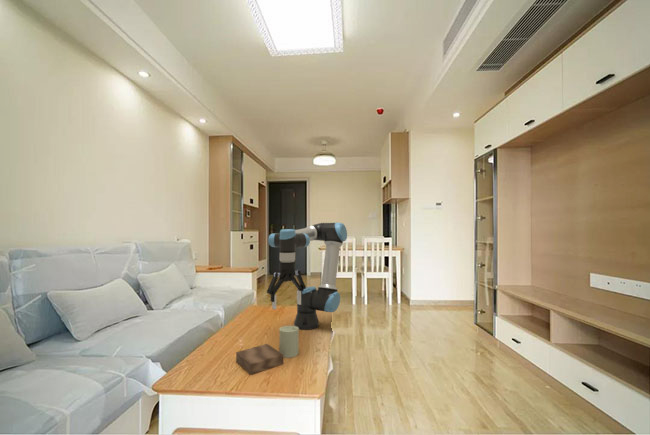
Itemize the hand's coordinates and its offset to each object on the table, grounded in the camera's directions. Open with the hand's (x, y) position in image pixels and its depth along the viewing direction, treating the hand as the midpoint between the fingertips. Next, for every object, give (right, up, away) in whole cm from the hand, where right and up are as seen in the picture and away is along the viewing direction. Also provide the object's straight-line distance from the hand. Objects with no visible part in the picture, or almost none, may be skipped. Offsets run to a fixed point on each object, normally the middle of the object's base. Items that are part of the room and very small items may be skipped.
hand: (286, 306), depth 132 cm
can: (+1, -22, -1) cm, 22 cm away
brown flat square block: (-10, -21, -11) cm, 26 cm away
